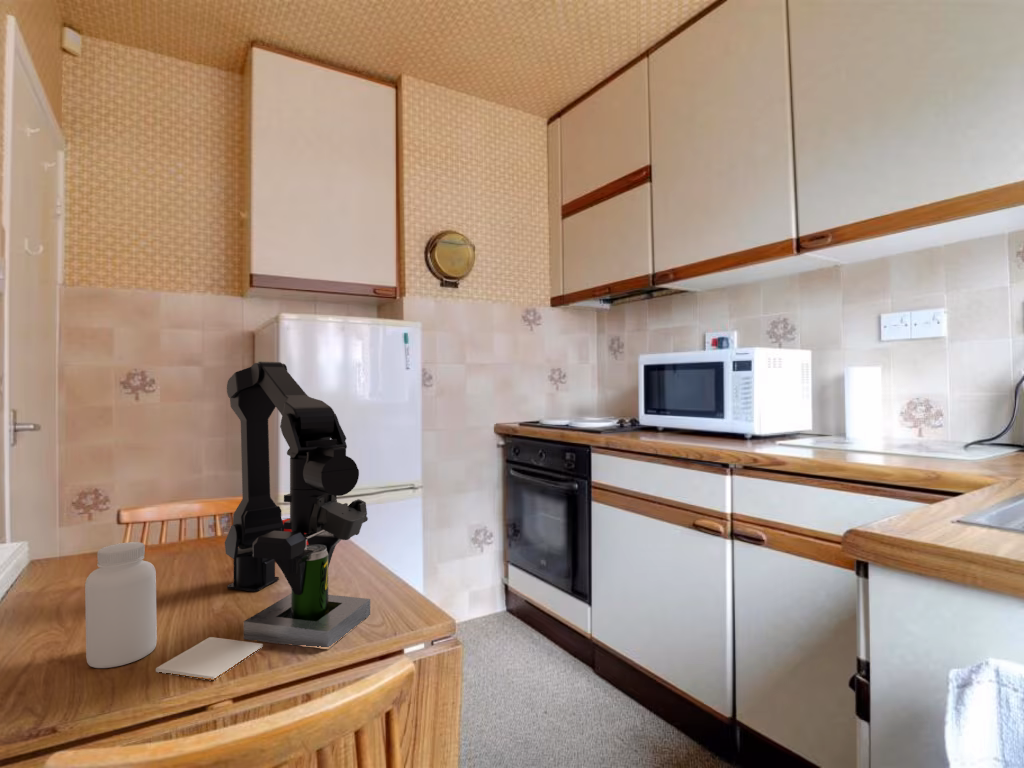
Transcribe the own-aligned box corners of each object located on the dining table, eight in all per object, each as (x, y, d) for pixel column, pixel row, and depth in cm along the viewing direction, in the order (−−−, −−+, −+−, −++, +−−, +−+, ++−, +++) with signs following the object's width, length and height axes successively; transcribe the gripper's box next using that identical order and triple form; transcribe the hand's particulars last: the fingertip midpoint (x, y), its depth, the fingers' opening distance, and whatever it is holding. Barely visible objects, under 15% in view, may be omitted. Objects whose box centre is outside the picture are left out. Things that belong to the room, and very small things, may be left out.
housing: (243, 639, 79) (243, 621, 79) (295, 606, 91) (295, 591, 91) (328, 650, 76) (328, 631, 76) (370, 614, 88) (370, 598, 88)
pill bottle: (110, 642, 78) (110, 539, 78) (168, 640, 79) (168, 538, 79) (70, 671, 70) (70, 556, 70) (135, 668, 71) (135, 554, 71)
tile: (155, 672, 70) (155, 668, 70) (210, 640, 79) (210, 636, 79) (213, 680, 68) (213, 676, 68) (262, 647, 77) (262, 643, 77)
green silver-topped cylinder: (295, 637, 80) (295, 556, 80) (288, 624, 84) (287, 547, 84) (332, 628, 83) (332, 550, 83) (323, 616, 87) (323, 541, 87)
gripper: (320, 501, 73) (320, 617, 72) (385, 478, 91) (385, 571, 91) (249, 497, 75) (249, 609, 75) (326, 476, 93) (327, 566, 93)
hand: (309, 587), depth 83 cm, fingers closed on green silver-topped cylinder, 5 cm apart
